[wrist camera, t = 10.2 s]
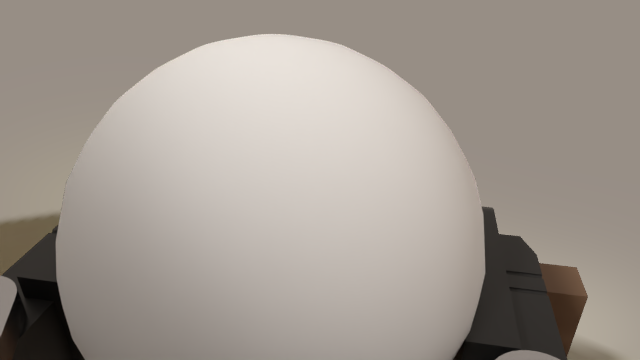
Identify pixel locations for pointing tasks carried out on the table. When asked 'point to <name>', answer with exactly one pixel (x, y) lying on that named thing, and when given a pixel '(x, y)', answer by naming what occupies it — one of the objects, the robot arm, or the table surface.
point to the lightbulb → (271, 214)
